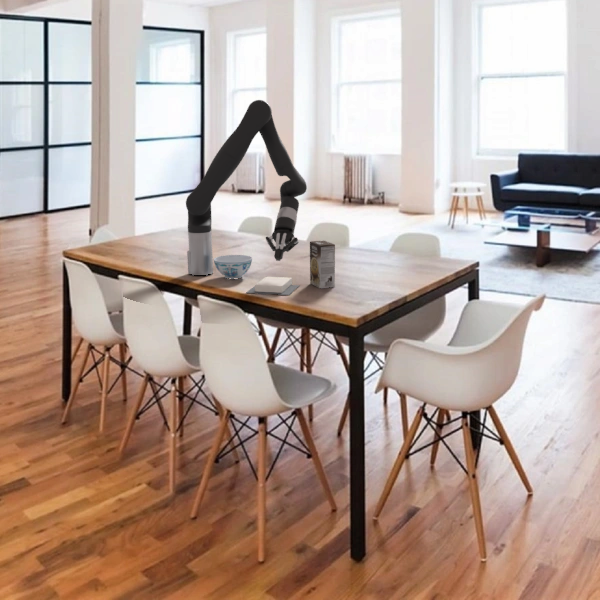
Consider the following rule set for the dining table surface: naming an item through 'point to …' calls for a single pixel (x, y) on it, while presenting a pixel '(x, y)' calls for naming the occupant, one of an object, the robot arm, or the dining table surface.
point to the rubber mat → (286, 292)
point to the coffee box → (322, 264)
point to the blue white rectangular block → (273, 284)
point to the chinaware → (233, 265)
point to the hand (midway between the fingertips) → (277, 259)
